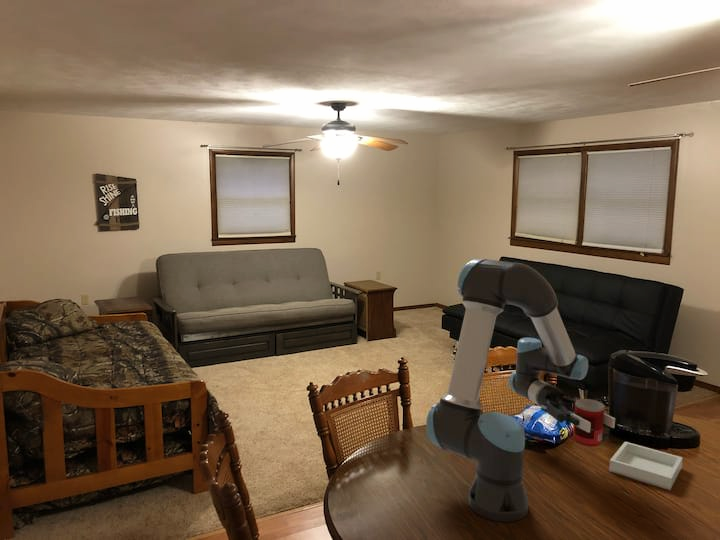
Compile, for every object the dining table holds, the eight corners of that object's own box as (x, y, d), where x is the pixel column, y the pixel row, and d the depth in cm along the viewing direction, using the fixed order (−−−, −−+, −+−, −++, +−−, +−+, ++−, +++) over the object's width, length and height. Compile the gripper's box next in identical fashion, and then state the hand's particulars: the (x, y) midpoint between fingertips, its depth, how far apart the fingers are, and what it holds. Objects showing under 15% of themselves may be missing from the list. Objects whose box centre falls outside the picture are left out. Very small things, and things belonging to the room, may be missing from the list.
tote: (670, 490, 152) (671, 478, 151) (609, 471, 162) (610, 460, 161) (681, 468, 164) (682, 457, 163) (624, 451, 174) (624, 441, 173)
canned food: (596, 435, 159) (599, 399, 157) (605, 447, 151) (608, 410, 149) (569, 433, 160) (571, 397, 158) (577, 446, 152) (579, 408, 150)
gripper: (572, 403, 175) (629, 432, 154) (518, 411, 168) (570, 444, 147) (573, 380, 174) (631, 407, 153) (519, 388, 167) (572, 417, 146)
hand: (601, 425), depth 150 cm, fingers closed on canned food, 8 cm apart
